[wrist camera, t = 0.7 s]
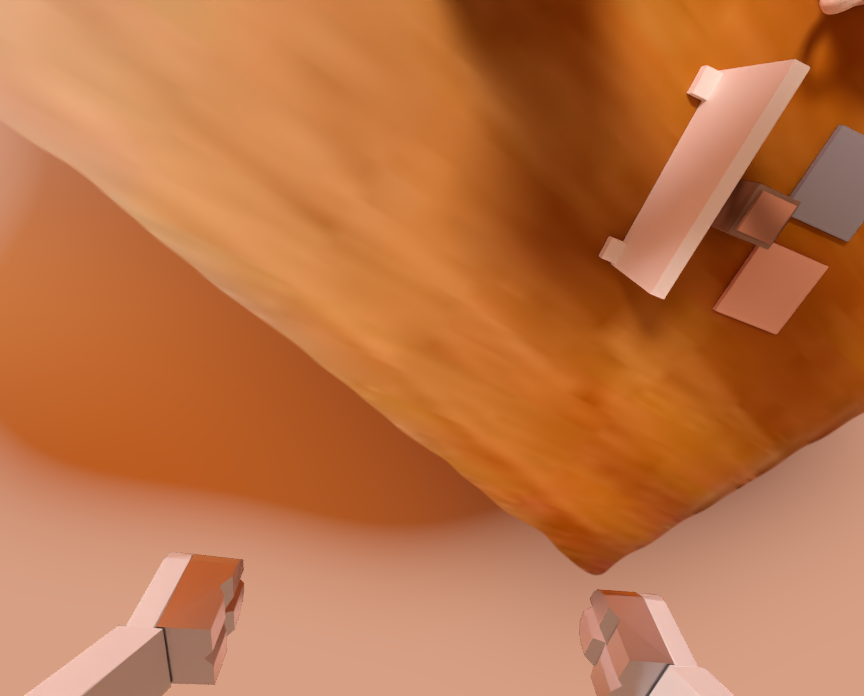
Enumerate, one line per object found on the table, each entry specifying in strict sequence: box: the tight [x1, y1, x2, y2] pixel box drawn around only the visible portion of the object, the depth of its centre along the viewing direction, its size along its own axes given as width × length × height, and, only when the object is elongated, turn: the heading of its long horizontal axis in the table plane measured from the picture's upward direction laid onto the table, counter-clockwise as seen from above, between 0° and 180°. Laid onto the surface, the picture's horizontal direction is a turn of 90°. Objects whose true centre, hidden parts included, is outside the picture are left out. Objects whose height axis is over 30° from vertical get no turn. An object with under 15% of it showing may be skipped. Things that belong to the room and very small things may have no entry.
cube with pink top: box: [711, 179, 801, 250], centre depth 48 cm, size 5×5×5 cm
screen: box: [598, 59, 811, 299], centre depth 44 cm, size 20×5×10 cm, turn 159°
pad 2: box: [789, 125, 864, 242], centre depth 49 cm, size 9×9×1 cm
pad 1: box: [713, 242, 828, 335], centre depth 54 cm, size 9×9×1 cm
